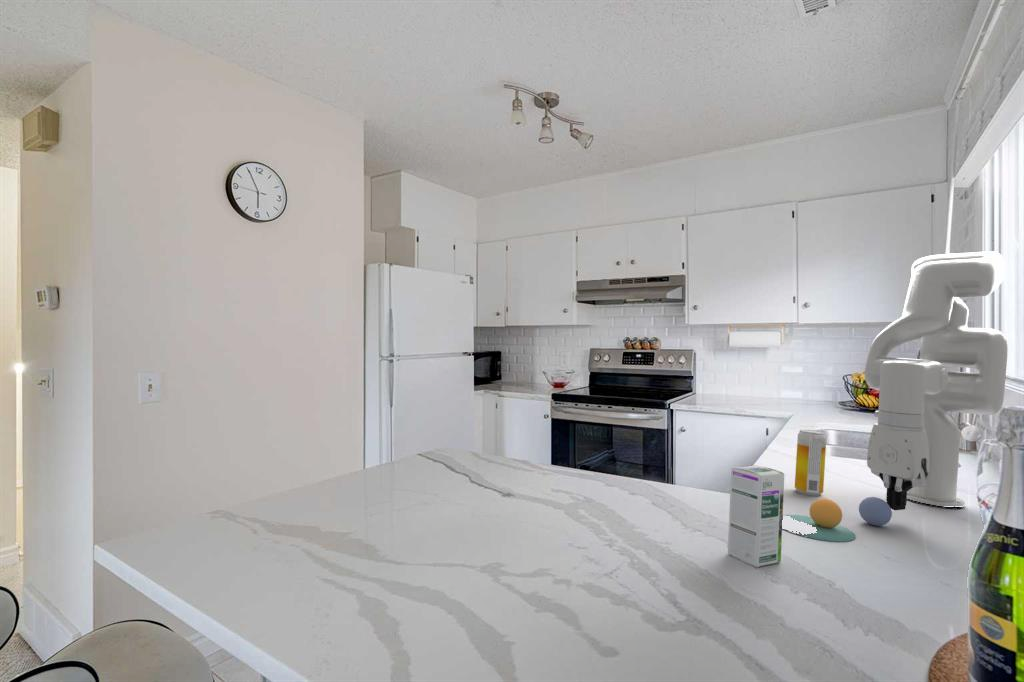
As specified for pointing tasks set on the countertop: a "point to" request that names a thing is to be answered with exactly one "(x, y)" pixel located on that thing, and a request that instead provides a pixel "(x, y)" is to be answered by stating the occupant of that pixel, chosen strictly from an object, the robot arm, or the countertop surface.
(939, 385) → the robot arm
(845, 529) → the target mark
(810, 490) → the drink can
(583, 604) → the countertop surface
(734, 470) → the syrup box
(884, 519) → the blue ball
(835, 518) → the orange ball
